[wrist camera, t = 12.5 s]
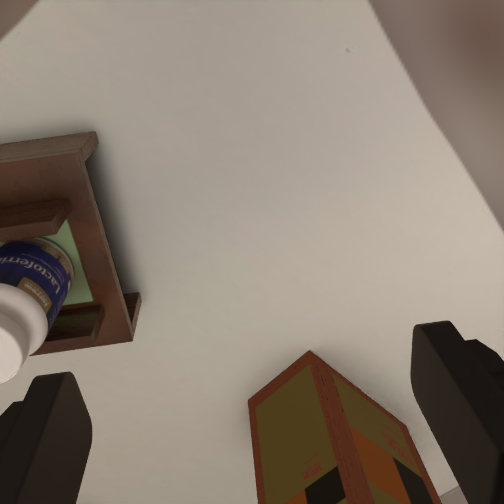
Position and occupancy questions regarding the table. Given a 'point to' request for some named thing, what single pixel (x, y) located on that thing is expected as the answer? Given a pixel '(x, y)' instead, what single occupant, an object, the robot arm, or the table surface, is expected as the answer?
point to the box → (331, 443)
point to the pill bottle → (29, 298)
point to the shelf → (66, 237)
